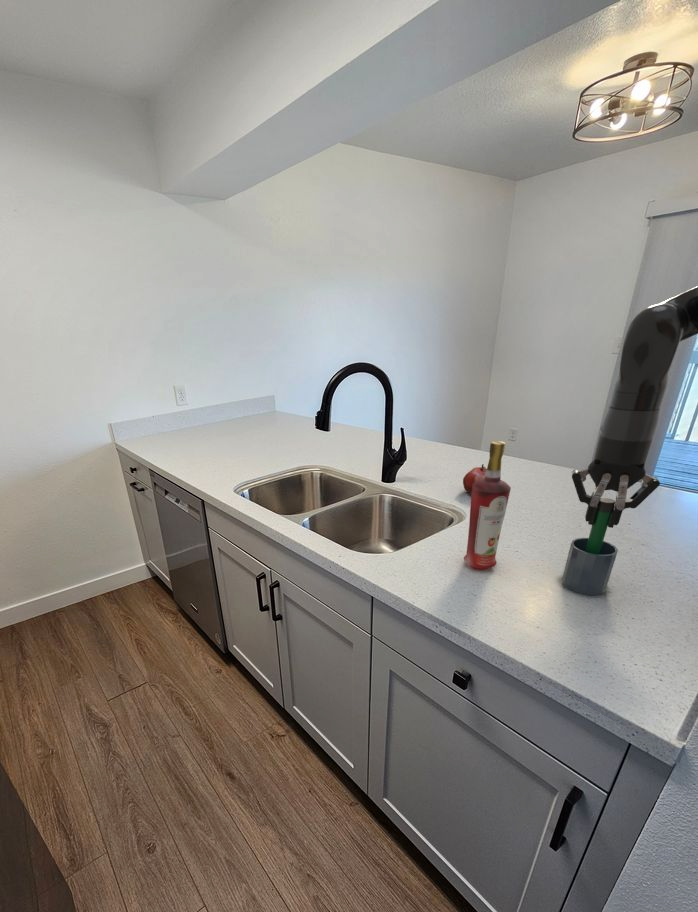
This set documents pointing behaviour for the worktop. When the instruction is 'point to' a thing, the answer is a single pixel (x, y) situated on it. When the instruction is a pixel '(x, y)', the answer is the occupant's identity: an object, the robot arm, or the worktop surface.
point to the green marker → (600, 525)
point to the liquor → (487, 512)
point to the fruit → (473, 477)
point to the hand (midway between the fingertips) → (600, 524)
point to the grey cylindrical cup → (588, 568)
